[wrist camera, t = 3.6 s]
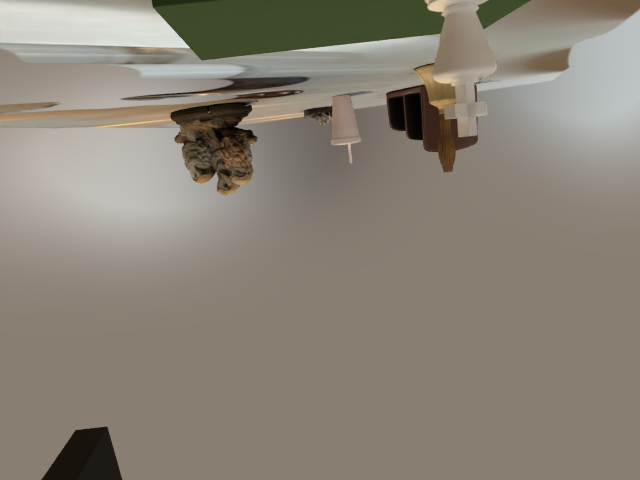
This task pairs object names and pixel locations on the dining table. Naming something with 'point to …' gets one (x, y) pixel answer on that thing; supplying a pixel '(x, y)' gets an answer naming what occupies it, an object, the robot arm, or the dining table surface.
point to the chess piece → (462, 60)
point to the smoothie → (344, 123)
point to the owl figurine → (216, 144)
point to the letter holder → (422, 118)
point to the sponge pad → (304, 23)
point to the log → (319, 114)
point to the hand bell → (441, 113)
